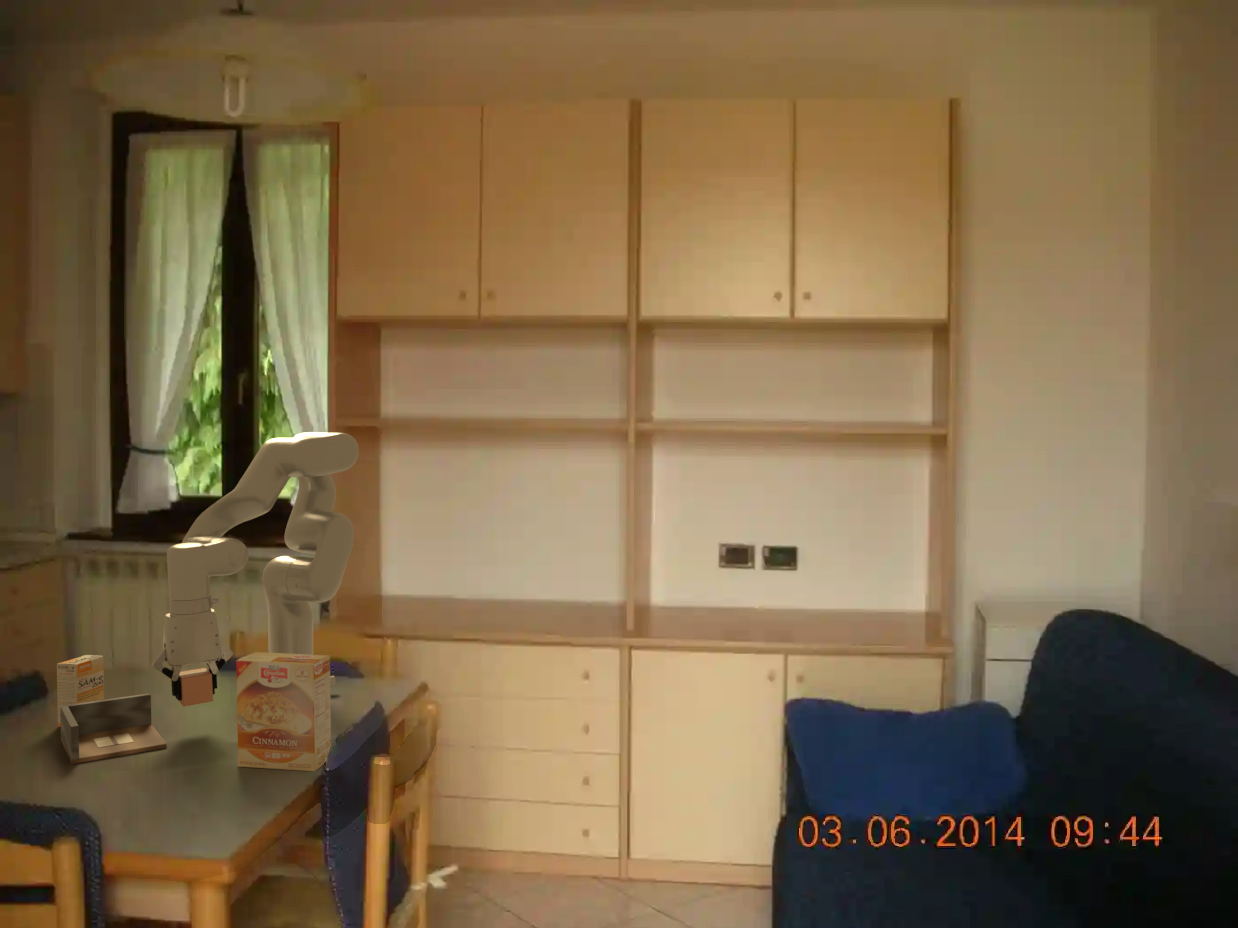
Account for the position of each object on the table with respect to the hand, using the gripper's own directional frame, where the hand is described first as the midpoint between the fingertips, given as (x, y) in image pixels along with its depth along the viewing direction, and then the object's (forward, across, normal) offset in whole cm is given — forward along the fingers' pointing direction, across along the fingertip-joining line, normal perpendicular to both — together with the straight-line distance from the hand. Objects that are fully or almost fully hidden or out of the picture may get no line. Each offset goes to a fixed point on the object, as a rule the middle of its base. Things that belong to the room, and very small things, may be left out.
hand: (195, 694), depth 206 cm
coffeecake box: (+7, -9, +29) cm, 31 cm away
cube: (+1, 0, 0) cm, 1 cm away
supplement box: (+7, +18, -19) cm, 28 cm away
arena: (+7, +15, 0) cm, 17 cm away
